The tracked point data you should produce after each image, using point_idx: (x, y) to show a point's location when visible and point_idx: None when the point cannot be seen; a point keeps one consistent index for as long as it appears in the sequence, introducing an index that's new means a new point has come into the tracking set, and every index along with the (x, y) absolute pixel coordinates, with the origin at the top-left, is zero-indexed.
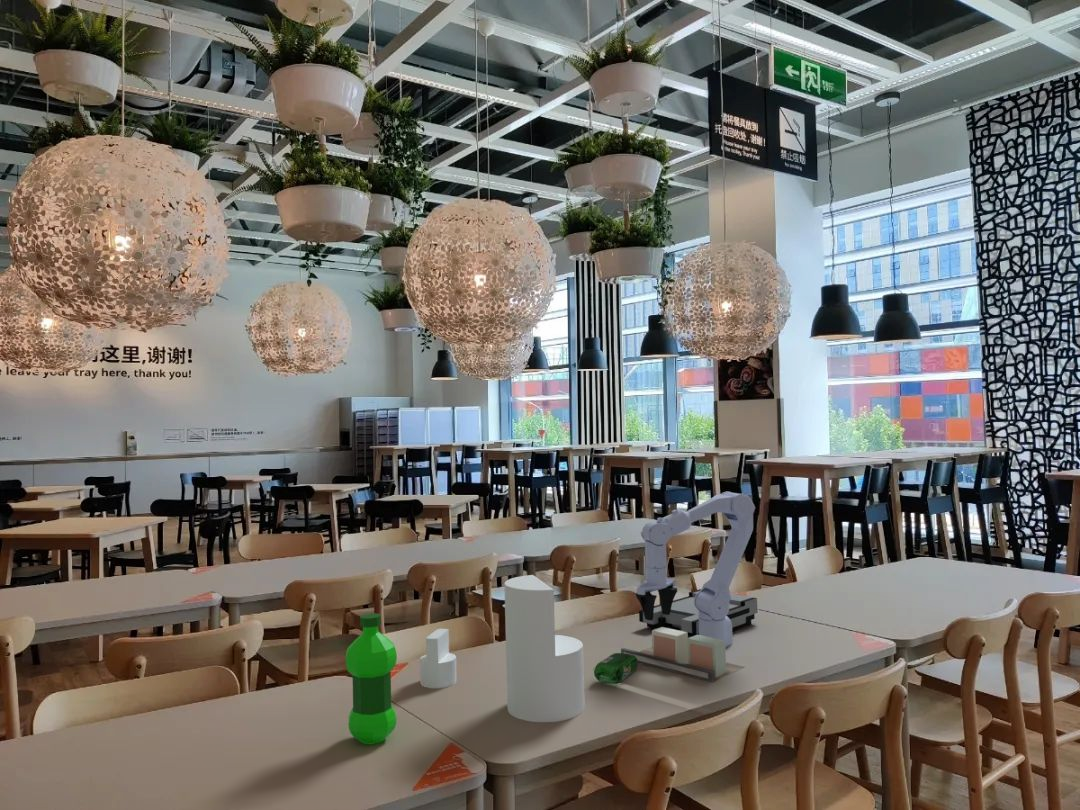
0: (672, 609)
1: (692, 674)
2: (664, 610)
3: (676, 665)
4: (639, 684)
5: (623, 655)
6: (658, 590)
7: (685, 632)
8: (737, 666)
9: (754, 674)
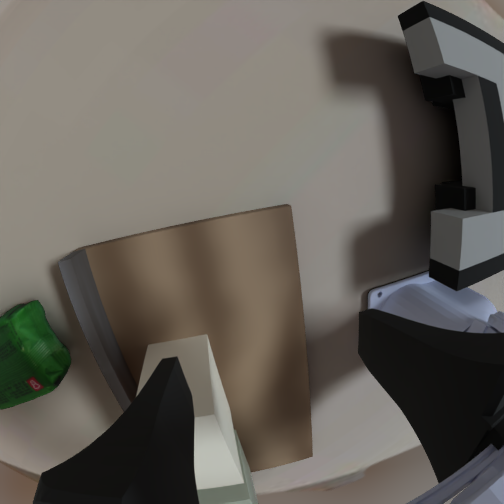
0: (501, 103)
1: None
2: (371, 340)
3: None
4: (52, 404)
5: (15, 375)
6: (486, 372)
7: (236, 482)
8: (304, 452)
9: (304, 463)
